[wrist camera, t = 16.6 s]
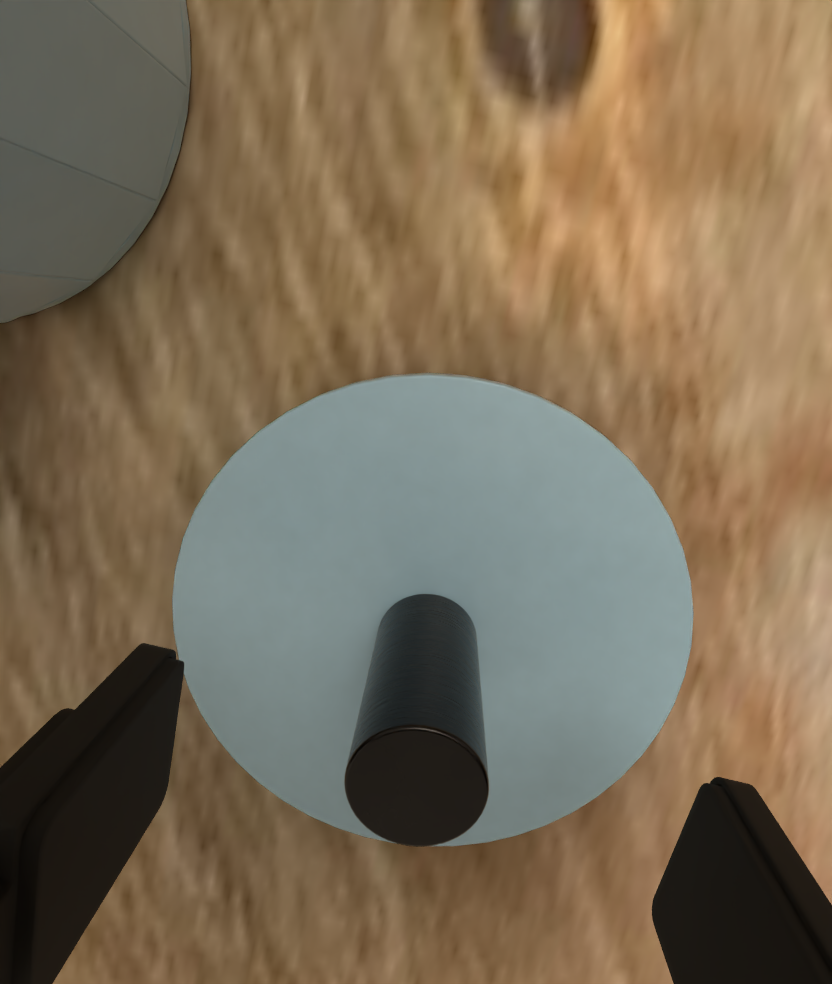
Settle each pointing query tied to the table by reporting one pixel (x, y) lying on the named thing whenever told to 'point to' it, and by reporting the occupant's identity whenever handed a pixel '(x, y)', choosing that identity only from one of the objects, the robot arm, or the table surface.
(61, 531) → the table surface
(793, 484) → the table surface
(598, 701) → the lid
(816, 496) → the table surface
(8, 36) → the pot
